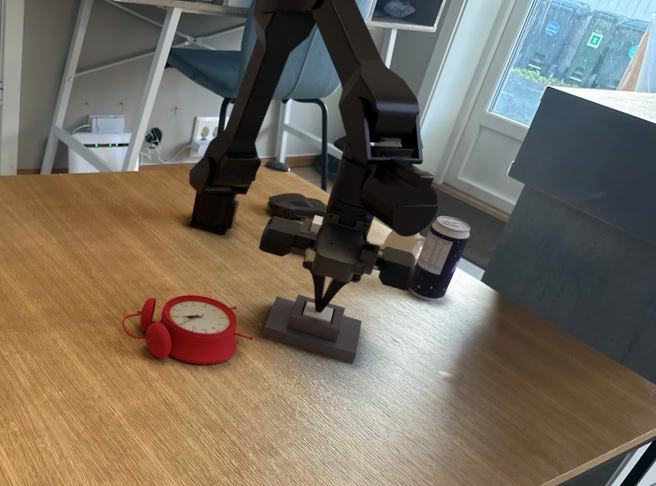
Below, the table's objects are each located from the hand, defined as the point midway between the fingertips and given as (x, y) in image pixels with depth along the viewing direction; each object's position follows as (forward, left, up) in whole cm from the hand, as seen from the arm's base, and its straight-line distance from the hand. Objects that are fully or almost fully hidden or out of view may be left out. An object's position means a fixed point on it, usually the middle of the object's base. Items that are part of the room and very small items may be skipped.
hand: (318, 310), depth 92 cm
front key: (0, 0, -2) cm, 2 cm away
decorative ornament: (+11, +34, -4) cm, 36 cm away
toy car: (-8, +40, -4) cm, 41 cm away
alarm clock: (-15, -11, -4) cm, 19 cm away
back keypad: (-3, +28, -4) cm, 28 cm away
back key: (-3, +28, -1) cm, 28 cm away
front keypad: (0, 0, -4) cm, 4 cm away
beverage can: (+15, +22, -4) cm, 27 cm away
